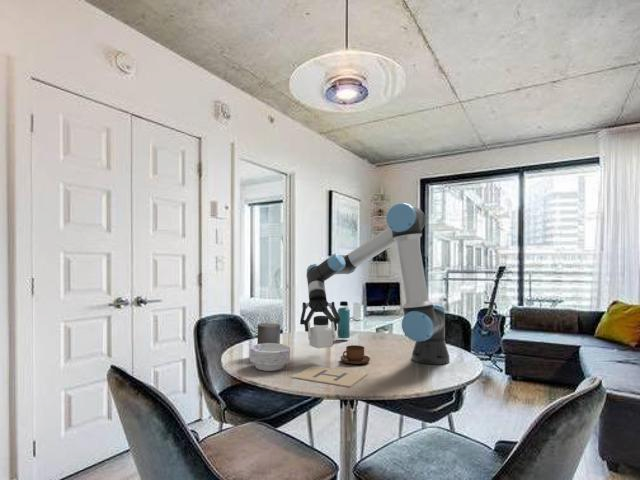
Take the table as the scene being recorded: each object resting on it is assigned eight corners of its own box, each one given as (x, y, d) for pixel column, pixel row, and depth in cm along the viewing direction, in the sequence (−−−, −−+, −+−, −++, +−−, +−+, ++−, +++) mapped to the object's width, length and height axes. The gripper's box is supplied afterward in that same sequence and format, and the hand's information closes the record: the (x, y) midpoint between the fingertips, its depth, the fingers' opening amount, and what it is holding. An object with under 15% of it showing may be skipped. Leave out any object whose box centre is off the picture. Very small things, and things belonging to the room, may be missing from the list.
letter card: (367, 374, 142) (367, 373, 142) (350, 387, 128) (350, 386, 128) (313, 366, 152) (313, 365, 152) (292, 377, 138) (292, 376, 138)
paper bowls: (291, 373, 144) (291, 351, 144) (248, 374, 142) (249, 351, 142) (288, 362, 159) (288, 342, 159) (250, 363, 157) (250, 343, 157)
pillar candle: (252, 356, 168) (253, 321, 169) (271, 353, 174) (272, 318, 175) (265, 361, 161) (266, 323, 161) (284, 357, 167) (285, 321, 168)
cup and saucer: (359, 368, 152) (359, 351, 152) (334, 363, 159) (334, 347, 159) (375, 362, 161) (375, 346, 162) (351, 357, 169) (351, 342, 169)
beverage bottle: (349, 338, 207) (349, 300, 208) (350, 341, 201) (350, 302, 202) (336, 338, 207) (337, 300, 208) (337, 341, 201) (338, 301, 202)
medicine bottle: (333, 346, 158) (333, 316, 158) (317, 348, 154) (317, 317, 155) (324, 343, 164) (324, 314, 165) (309, 345, 160) (309, 315, 161)
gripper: (340, 299, 177) (347, 342, 160) (291, 299, 174) (294, 343, 157) (342, 287, 172) (350, 331, 155) (292, 288, 169) (295, 332, 152)
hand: (322, 337), depth 156 cm, fingers closed on medicine bottle, 9 cm apart
